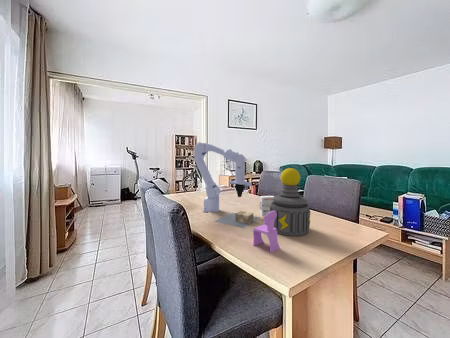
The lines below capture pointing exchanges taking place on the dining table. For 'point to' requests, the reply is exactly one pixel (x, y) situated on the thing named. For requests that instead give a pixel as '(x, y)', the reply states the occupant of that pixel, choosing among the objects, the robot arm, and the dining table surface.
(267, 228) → the toy chair
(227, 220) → the slate board
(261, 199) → the ink box
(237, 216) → the maple block
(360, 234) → the dining table surface
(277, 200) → the decorative lamp
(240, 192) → the robot arm
